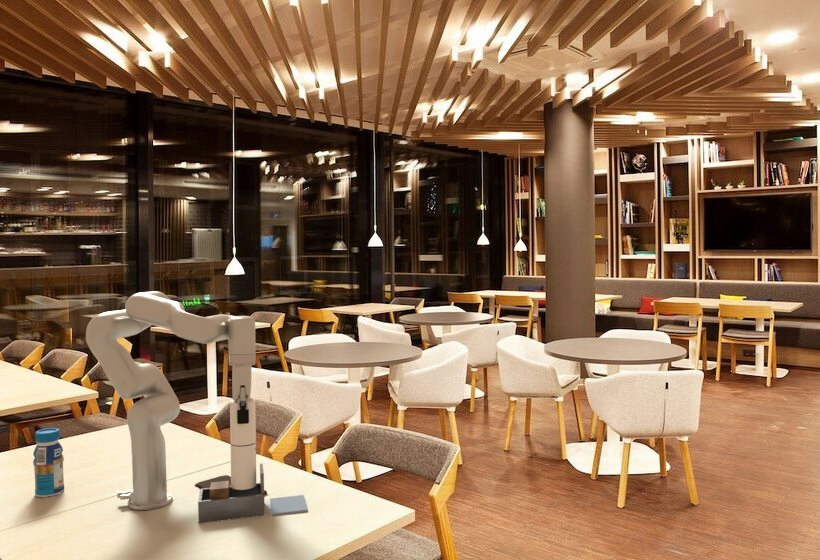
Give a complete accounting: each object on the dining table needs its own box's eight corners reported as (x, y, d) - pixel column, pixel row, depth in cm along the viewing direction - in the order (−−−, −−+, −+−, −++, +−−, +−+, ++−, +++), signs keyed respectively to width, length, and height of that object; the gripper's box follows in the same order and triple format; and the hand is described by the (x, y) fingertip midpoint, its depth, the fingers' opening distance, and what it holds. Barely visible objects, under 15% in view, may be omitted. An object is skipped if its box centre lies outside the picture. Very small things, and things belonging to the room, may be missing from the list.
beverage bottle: (30, 493, 207) (28, 431, 206) (59, 486, 213) (56, 425, 212) (39, 500, 201) (37, 435, 200) (69, 492, 207) (66, 430, 207)
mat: (272, 515, 186) (272, 513, 186) (270, 500, 198) (270, 498, 198) (307, 511, 189) (307, 509, 189) (303, 496, 201) (303, 494, 201)
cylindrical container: (225, 487, 188) (224, 401, 187) (241, 479, 195) (240, 396, 194) (246, 491, 186) (245, 404, 185) (261, 482, 192) (260, 398, 191)
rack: (198, 523, 182) (197, 480, 182) (200, 508, 192) (199, 468, 192) (264, 515, 187) (263, 474, 186) (263, 502, 197) (262, 462, 196)
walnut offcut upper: (210, 503, 185) (209, 489, 185) (211, 495, 191) (211, 482, 190) (228, 501, 186) (228, 487, 186) (229, 494, 192) (228, 480, 192)
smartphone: (226, 473, 221) (269, 490, 203) (226, 478, 221) (269, 495, 204) (192, 483, 212) (234, 501, 195) (193, 487, 212) (234, 506, 195)
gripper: (229, 354, 196) (229, 413, 197) (228, 364, 179) (229, 428, 180) (254, 353, 198) (255, 412, 199) (256, 363, 181) (257, 427, 182)
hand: (242, 419), depth 189 cm, fingers closed on cylindrical container, 7 cm apart
